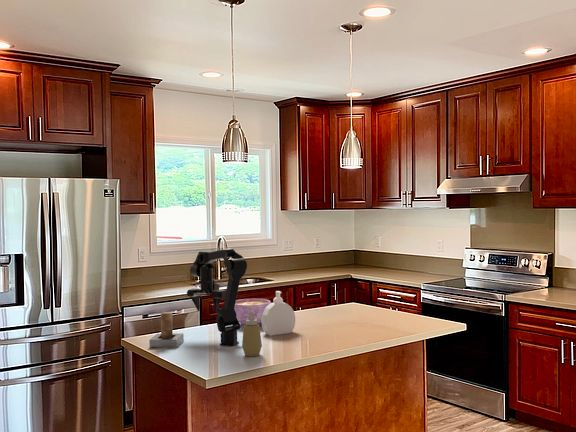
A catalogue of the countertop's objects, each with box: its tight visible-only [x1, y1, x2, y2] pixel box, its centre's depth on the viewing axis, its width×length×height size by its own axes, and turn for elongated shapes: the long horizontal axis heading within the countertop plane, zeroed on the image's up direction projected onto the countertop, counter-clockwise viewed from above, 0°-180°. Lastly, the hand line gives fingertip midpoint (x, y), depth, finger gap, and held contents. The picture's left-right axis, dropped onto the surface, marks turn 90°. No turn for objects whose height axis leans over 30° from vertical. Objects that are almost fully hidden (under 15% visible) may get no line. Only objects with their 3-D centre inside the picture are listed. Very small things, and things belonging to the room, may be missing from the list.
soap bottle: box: [260, 290, 296, 337], centre depth 277 cm, size 16×5×20 cm, turn 119°
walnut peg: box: [160, 311, 174, 338], centre depth 260 cm, size 5×5×14 cm
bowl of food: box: [234, 298, 272, 326], centre depth 299 cm, size 20×20×12 cm
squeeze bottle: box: [241, 311, 263, 358], centre depth 239 cm, size 8×8×18 cm
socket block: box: [148, 332, 185, 349], centre depth 260 cm, size 12×12×4 cm
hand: (207, 311), depth 272 cm, fingers open, 9 cm apart
